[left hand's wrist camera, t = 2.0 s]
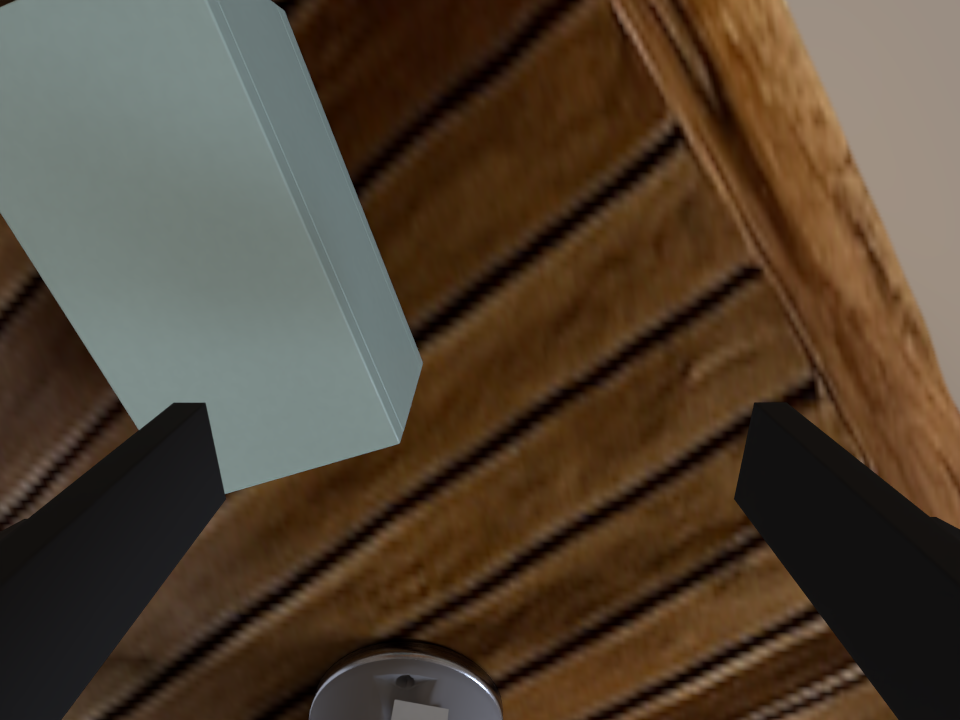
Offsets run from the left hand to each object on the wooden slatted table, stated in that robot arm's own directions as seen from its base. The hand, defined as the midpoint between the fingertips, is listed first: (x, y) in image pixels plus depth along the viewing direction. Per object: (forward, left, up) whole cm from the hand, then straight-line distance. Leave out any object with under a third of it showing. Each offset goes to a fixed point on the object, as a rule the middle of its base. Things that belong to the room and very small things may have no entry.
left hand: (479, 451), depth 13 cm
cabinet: (-7, +9, -18) cm, 22 cm away
